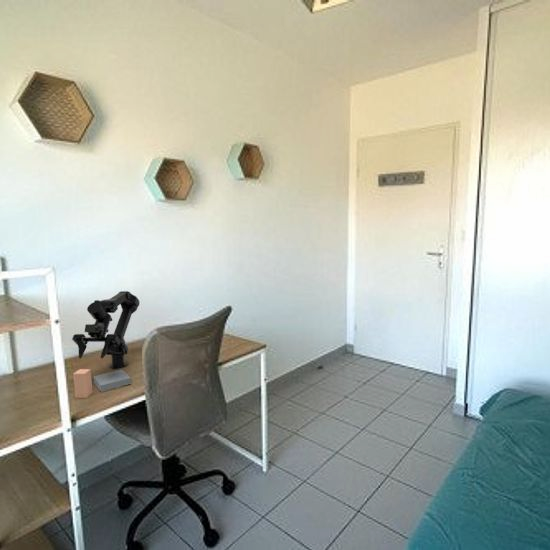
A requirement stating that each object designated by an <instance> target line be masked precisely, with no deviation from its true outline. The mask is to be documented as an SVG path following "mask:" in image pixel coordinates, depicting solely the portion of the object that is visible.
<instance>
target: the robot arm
mask: <svg viewBox="0 0 550 550" xmlns="http://www.w3.org/2000/svg"><path fill="white" fill-rule="evenodd" d="M119 306H120V307H121V310H122V311H121V313H120V316H119V319H118V321H117V324H116V327H115V329H114V331H113V333H109V326H110V322H112V321H113V318H112V316H111V314H115V313H116V312H117V310H118V309H119V308H118V307H119ZM139 306H140V300H139V298H138V297H137V296H136V295H134V294H133V293H131V291H128V290H126V291H125V290H124V291H122V290H121V291H119V292H118V293H117V294H115V295H114V296H112V297H110V298H107V299H102V300H99V299H97V300H94V302H92V303H90V304H89V305H88V306H87V312H88V313H89V314H90V316H91V317H92V319H93V320H95V321H94V323H92V324H89V323H88V324H85V325H84V326H85V327H84V333H87V335H88V336H86V335H85V334H84V333H75V334H74V335H73V336H72V338H71V340H72V341H73V342H74V343H75V344H76V345H77V347H78V358H79V359H82V358H83V356H84V353H85V351H86V349H87V346H88V345H87V344H88V343H89V342H91V343H94V342H95V343H102V342H104V345H103V348H102V351H101V354H100V359H104V358H105V357H106V356H110V360H111V363H110V364H109V367H111V368H112V369H113V370H115V369H119V368H124V367H127V366H128V364H127V363H126V361H125V355H127V354H128V352H129V347H128V346H127V345H126V341H125V334H126V331H127V329H128V326H129V323H130V321H131V317H132V315H133V314H134V313H136V311H137V310H138V308H139Z"/></svg>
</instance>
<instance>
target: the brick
mask: <svg viewBox="0 0 550 550" xmlns="http://www.w3.org/2000/svg"><path fill="white" fill-rule="evenodd" d="M91 371H92V370H91V369H90V368H89V369H87V368H82V369H81V368H79V369H78V370H76V371H75V372H74V373H72V375H73V377H72V378H73V386H74V396H75V397H74V398H76V399H78V398H79V399H81V398H84V399H85V398H88V397H89V396H90V395H92V394H93V381H92V372H91Z"/></svg>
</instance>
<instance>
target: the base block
mask: <svg viewBox="0 0 550 550" xmlns="http://www.w3.org/2000/svg"><path fill="white" fill-rule="evenodd" d="M131 378H132V377H130V376H129V375H128V374H127V373H126V372H125V371H124V370H123V369H119V370H115V371H110V372H107V373H102V374H98V375H93V384H94V385H95V386H96V388H97V389H98V390H99V392H100V391H101V392H100V393H105V392H108V391H107V390H109V391H111V390H110V389H113V388H116V389H119V388H118V387H120V388H122V387H121V386H124V385H127V384H131V385H132V380H131ZM124 387H125V386H124ZM113 390H114V389H113ZM104 391H105V392H104Z"/></svg>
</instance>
